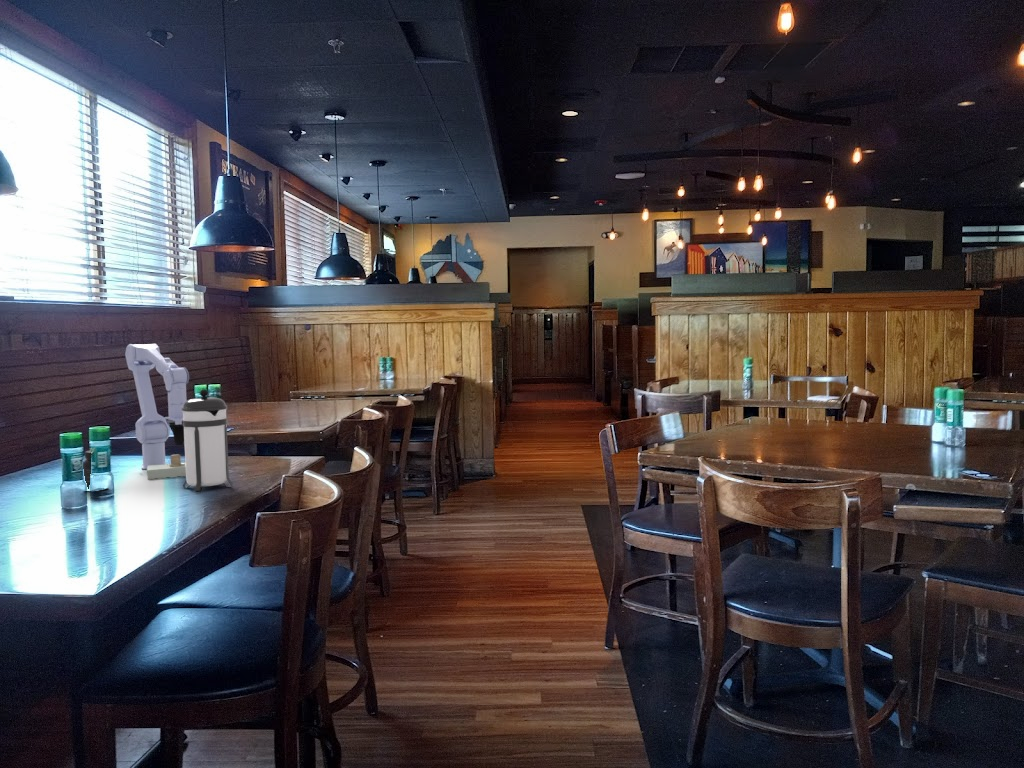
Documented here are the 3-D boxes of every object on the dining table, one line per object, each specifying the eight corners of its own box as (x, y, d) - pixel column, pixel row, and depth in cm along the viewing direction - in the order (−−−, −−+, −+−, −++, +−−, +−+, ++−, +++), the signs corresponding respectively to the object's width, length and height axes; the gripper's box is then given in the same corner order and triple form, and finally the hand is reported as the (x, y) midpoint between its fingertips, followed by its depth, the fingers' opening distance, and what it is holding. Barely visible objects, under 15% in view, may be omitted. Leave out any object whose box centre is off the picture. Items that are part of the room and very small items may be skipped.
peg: (171, 472, 254) (170, 454, 253) (181, 471, 255) (180, 454, 254) (171, 474, 251) (170, 456, 251) (181, 473, 252) (180, 455, 252)
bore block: (147, 474, 254) (147, 465, 254) (205, 469, 262) (205, 460, 261) (147, 479, 245) (147, 470, 245) (207, 474, 252) (206, 465, 252)
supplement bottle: (84, 489, 231) (82, 450, 230) (109, 486, 234) (107, 448, 233) (82, 493, 224) (79, 453, 224) (108, 490, 227) (106, 451, 226)
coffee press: (244, 482, 237) (240, 387, 235) (219, 493, 221) (215, 391, 219) (191, 482, 239) (187, 387, 237) (163, 492, 223) (158, 391, 221)
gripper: (164, 402, 259) (166, 441, 260) (164, 406, 246) (166, 447, 247) (186, 401, 262) (188, 440, 263) (187, 404, 249) (189, 445, 250)
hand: (179, 443), depth 255 cm, fingers open, 7 cm apart
